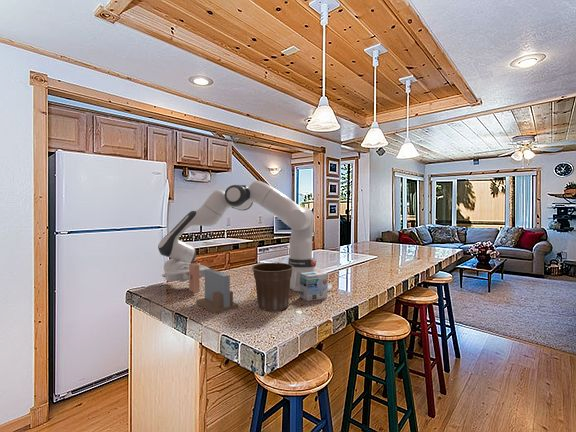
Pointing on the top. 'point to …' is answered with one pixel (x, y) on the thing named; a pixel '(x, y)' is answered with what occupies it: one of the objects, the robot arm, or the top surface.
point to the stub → (194, 277)
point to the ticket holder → (217, 292)
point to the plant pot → (272, 285)
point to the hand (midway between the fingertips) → (195, 276)
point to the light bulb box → (313, 285)
